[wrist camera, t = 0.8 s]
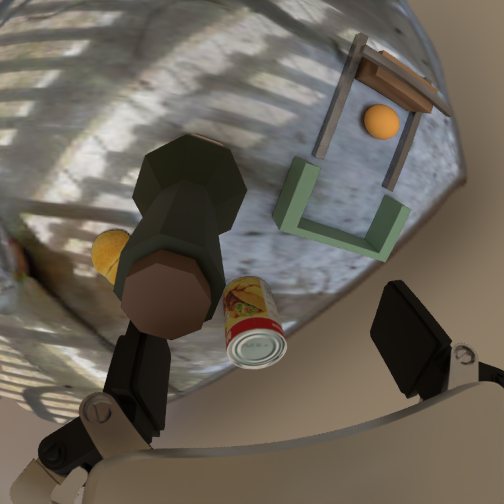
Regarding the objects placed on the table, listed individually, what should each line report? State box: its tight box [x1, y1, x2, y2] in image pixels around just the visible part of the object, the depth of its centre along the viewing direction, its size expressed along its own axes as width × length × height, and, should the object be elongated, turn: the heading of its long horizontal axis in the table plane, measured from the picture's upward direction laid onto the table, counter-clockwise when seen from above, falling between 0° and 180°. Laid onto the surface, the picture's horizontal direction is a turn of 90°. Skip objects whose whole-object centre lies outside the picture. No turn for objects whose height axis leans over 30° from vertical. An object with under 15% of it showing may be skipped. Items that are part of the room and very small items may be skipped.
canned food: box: [223, 276, 287, 369], centre depth 39 cm, size 8×8×12 cm
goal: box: [272, 157, 411, 262], centre depth 37 cm, size 9×18×5 cm, turn 71°
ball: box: [364, 104, 399, 139], centre depth 31 cm, size 5×5×5 cm
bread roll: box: [91, 230, 130, 284], centre depth 37 cm, size 8×9×4 cm
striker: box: [355, 45, 453, 117], centre depth 27 cm, size 4×16×7 cm, turn 71°
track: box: [312, 33, 432, 192], centre depth 32 cm, size 20×14×2 cm
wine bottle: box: [113, 134, 247, 340], centre depth 20 cm, size 8×8×30 cm
